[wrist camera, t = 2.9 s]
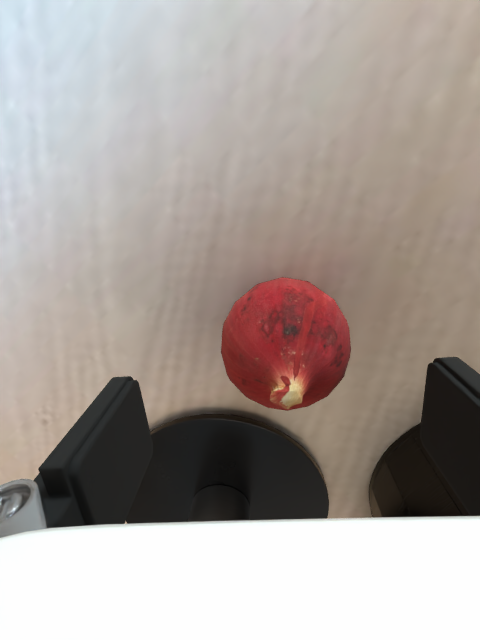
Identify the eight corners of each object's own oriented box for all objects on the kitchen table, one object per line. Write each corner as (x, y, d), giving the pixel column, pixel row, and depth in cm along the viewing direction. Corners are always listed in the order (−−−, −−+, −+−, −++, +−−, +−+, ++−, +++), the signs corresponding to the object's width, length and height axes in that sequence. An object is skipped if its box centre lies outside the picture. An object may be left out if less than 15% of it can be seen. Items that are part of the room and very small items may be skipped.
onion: (236, 257, 17) (215, 302, 10) (343, 272, 17) (403, 329, 10) (224, 353, 20) (199, 450, 12) (319, 367, 19) (354, 474, 12)
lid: (157, 375, 20) (106, 460, 14) (365, 456, 21) (410, 571, 15) (102, 523, 25) (46, 638, 19) (273, 583, 27) (276, 711, 20)
